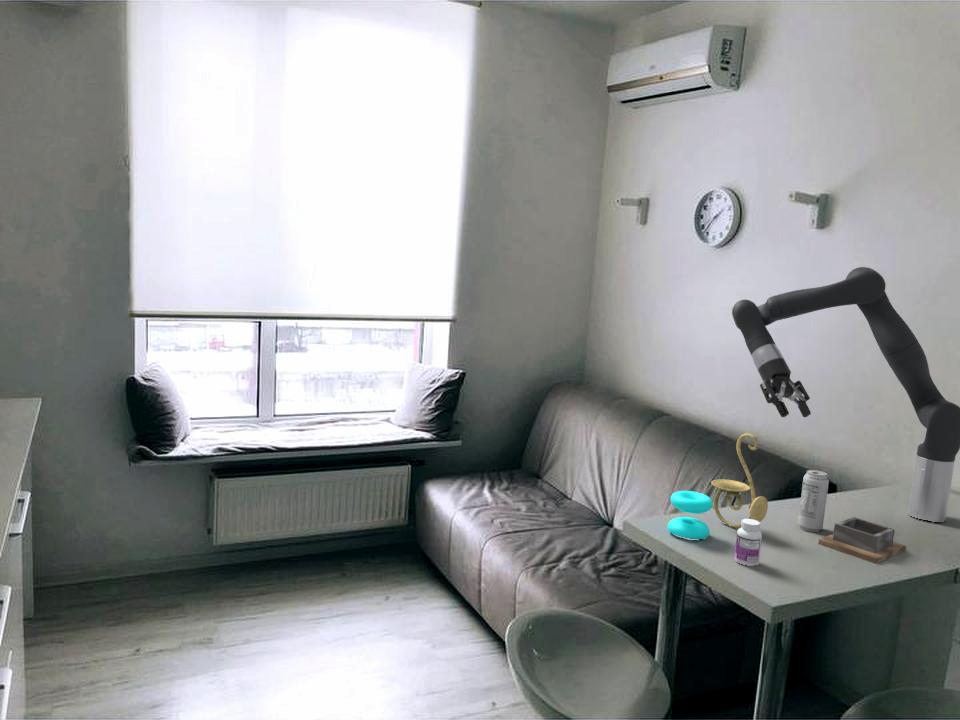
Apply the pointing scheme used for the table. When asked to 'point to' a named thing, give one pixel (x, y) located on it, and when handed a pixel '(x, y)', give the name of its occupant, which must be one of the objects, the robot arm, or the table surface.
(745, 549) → the pill bottle
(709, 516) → the table surface
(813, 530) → the energy drink can
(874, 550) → the socket board
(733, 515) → the table surface
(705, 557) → the table surface
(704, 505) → the donuts
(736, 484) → the wall sconce
